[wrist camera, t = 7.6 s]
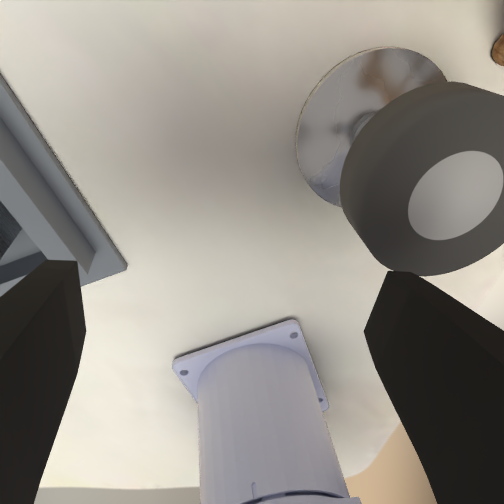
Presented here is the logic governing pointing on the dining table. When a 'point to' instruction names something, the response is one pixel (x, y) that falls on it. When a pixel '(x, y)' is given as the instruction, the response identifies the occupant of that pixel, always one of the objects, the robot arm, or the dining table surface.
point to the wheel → (429, 179)
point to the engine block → (7, 229)
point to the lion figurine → (499, 51)
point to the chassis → (45, 206)
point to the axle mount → (353, 109)
